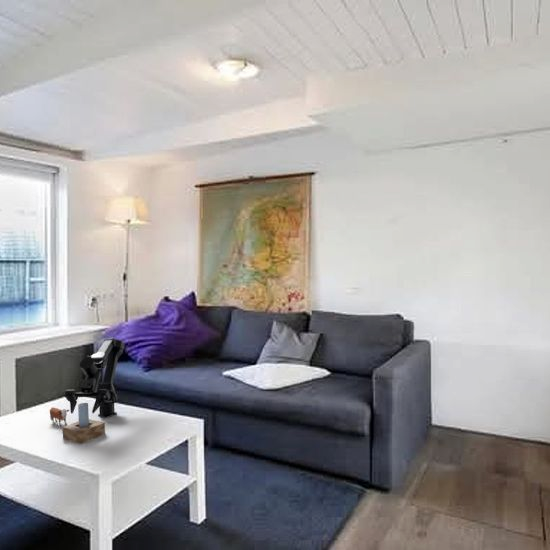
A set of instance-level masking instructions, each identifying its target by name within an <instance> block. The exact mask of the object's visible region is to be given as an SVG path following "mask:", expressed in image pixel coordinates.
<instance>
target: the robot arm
mask: <svg viewBox="0 0 550 550" xmlns="http://www.w3.org/2000/svg"><path fill="white" fill-rule="evenodd" d="M124 350H125V343H124V342H123V341H122V340H119V339H116V338H115V337H109V338H108V337H107V338H104V340H103V343H102V345H101V346H100V348H99V349H98V351H97V352H95V353H93V354H92V355H90V356H89V355H87V356H86V358H84V359H82V360H81V361H80V363H79V367H80V369H81V370H82V372H83V373H84V375H85V379H78V380H77V385H76V387H77V388H79V392H77V391H76V389H66V390H65V391H64V393H63V396H64V398H65V399H66V400H67V401H68V402H69V408H70V409H69V411H70V414H73V413H74V412H75V410H76V407H77V404H78V398H95V401H94V404H93V407H92V409H91V413H92V414H95V413H96V411H97V410H98V409H99V410H98V411H99V414H97V416H98V417H102V418H109V417H112V416H115V415H117V414H118V412H115V404H116V403H118V395H117V393H116V390H115V387H114V385H113V384H114V379H115V374H116V369H117V365H118V364H117V363H118V359H119V358H120V357H121V356H122V355H123V353H124ZM101 369H105V370H104V371H105V372H104V375H103V379H102V380H103V381H102V382H101V383H99V381H100V378H101V377H102V373H101Z"/></svg>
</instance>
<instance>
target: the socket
mask: <svg viewBox="0 0 550 550" xmlns="http://www.w3.org/2000/svg"><path fill="white" fill-rule="evenodd" d="M105 434H106V424H105V422H104V421H99V420H95V419H92V418H91V419H90V418H89V426H87V427H84V428H80V427H79V420H78V421H75V422H73V423H70V424H67V425H64V426H62V439H63V440H65V441H70V442H74V443H78V444H80V445H81V444H82V445H83V444H84V443H86V442H89V441H92V440H93V439H97V438H98V437H101V436H104V435H105Z"/></svg>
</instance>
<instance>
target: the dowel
mask: <svg viewBox="0 0 550 550" xmlns="http://www.w3.org/2000/svg"><path fill="white" fill-rule="evenodd" d="M77 404H78V403H77ZM77 412H78V421H79V427H80V428H84V427H87V426H89V419H90V418H89V403H88V402H80V403H79V404H78V405H77Z"/></svg>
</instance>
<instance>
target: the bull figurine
mask: <svg viewBox="0 0 550 550" xmlns="http://www.w3.org/2000/svg"><path fill="white" fill-rule="evenodd" d="M69 411H70V409H66V408H58V407H54V406H53V407H50V409H49V415H50V416H49V418H50V420H51V421H52V425H55V424H56V423H58V426H59V427H60V426H62V424H61V422H62V421H64V426H67V425H68V422H67V420H66V419H67V415H68V414H67V412H69ZM51 421H50V422H51Z"/></svg>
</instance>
